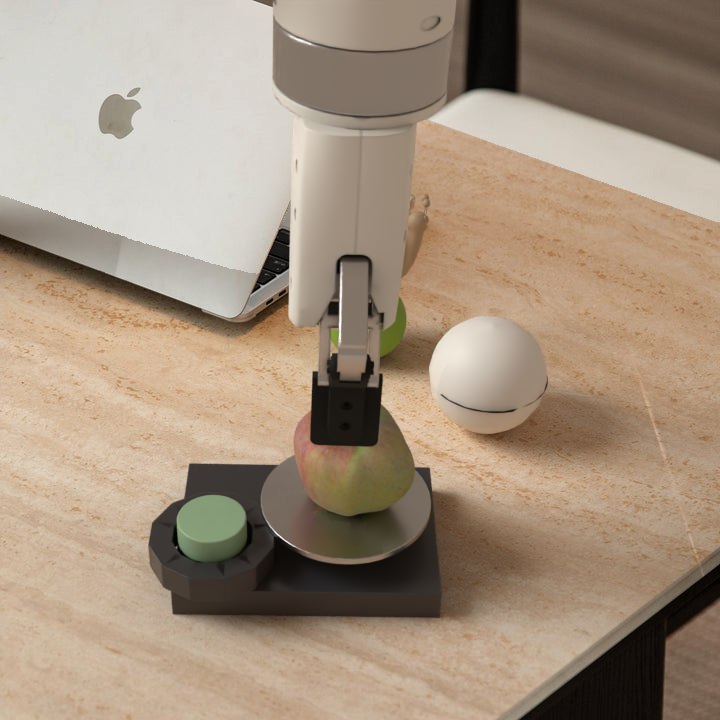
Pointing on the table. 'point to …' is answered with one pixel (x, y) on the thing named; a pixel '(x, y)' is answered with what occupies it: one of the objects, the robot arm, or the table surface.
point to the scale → (287, 564)
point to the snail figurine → (413, 243)
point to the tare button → (212, 528)
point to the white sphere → (488, 374)
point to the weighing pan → (340, 521)
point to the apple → (355, 469)
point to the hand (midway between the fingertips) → (343, 379)
